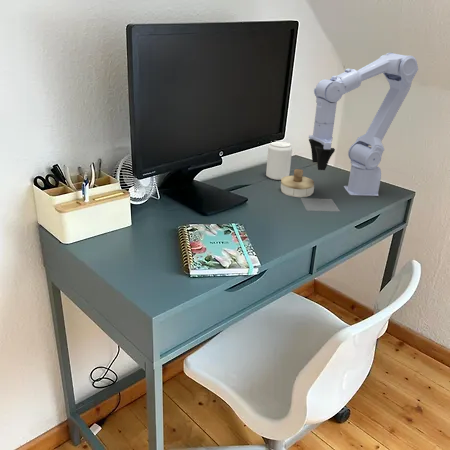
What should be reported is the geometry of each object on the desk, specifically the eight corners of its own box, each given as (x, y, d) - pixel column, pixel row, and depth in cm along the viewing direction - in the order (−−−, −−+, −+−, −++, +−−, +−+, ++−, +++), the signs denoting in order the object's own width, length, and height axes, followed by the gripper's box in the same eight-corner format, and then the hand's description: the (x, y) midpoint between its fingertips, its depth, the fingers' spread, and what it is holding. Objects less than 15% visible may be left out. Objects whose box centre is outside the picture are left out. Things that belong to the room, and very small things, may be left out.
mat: (331, 200, 156) (331, 198, 156) (340, 212, 147) (340, 211, 146) (300, 199, 155) (300, 198, 155) (306, 211, 146) (306, 210, 146)
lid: (311, 179, 164) (312, 166, 162) (315, 190, 155) (317, 176, 153) (279, 177, 164) (281, 164, 162) (282, 188, 154) (283, 174, 153)
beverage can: (290, 181, 170) (293, 147, 165) (266, 180, 170) (269, 146, 165) (287, 174, 178) (291, 141, 173) (265, 172, 178) (268, 139, 173)
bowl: (308, 187, 165) (309, 179, 164) (315, 198, 156) (316, 189, 155) (278, 186, 165) (279, 178, 163) (283, 197, 156) (284, 188, 154)
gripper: (306, 116, 154) (301, 158, 159) (316, 127, 140) (310, 173, 146) (328, 116, 154) (322, 159, 160) (340, 128, 141) (334, 173, 146)
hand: (318, 165), depth 153 cm, fingers open, 7 cm apart
